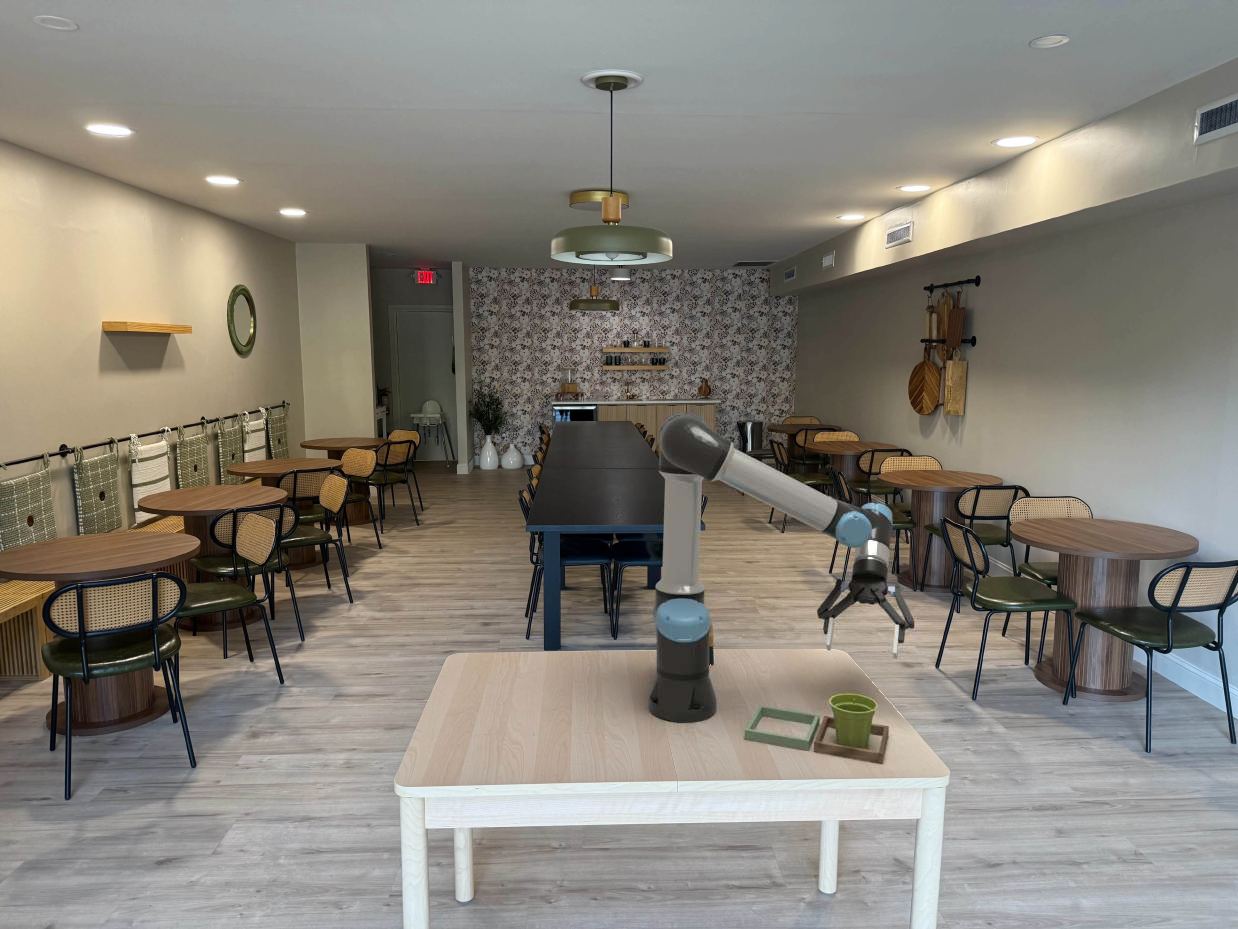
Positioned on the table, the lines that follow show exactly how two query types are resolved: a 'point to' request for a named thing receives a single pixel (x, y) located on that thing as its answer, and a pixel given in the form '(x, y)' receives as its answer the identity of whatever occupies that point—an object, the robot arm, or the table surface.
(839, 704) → the plant pot
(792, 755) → the table surface
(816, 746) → the walnut collar
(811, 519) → the robot arm
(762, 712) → the sage green collar
